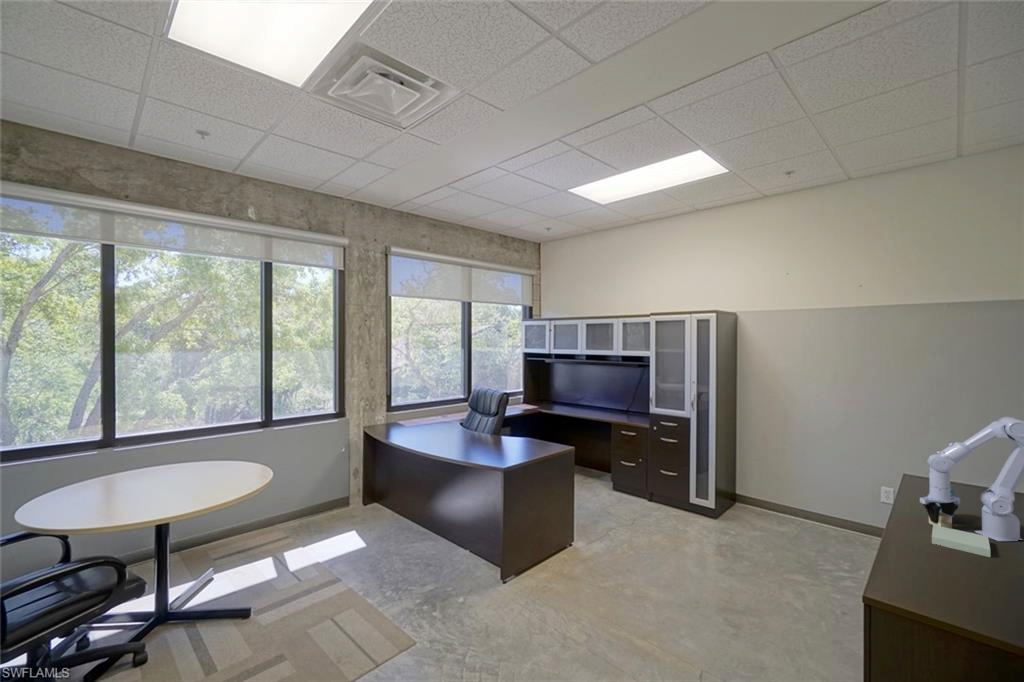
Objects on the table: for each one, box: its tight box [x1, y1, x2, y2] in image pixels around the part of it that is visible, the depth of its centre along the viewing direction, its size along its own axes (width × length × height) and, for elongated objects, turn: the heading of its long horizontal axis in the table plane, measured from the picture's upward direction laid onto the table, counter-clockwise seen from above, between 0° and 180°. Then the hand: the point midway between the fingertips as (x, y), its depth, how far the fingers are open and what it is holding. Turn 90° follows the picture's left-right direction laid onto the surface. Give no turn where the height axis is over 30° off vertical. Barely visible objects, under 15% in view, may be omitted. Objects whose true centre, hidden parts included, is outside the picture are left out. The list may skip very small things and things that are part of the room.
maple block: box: [928, 512, 953, 529], centre depth 167 cm, size 4×4×4 cm
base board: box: [931, 525, 991, 558], centre depth 154 cm, size 14×14×2 cm
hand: (940, 521), depth 167 cm, fingers closed on maple block, 4 cm apart
